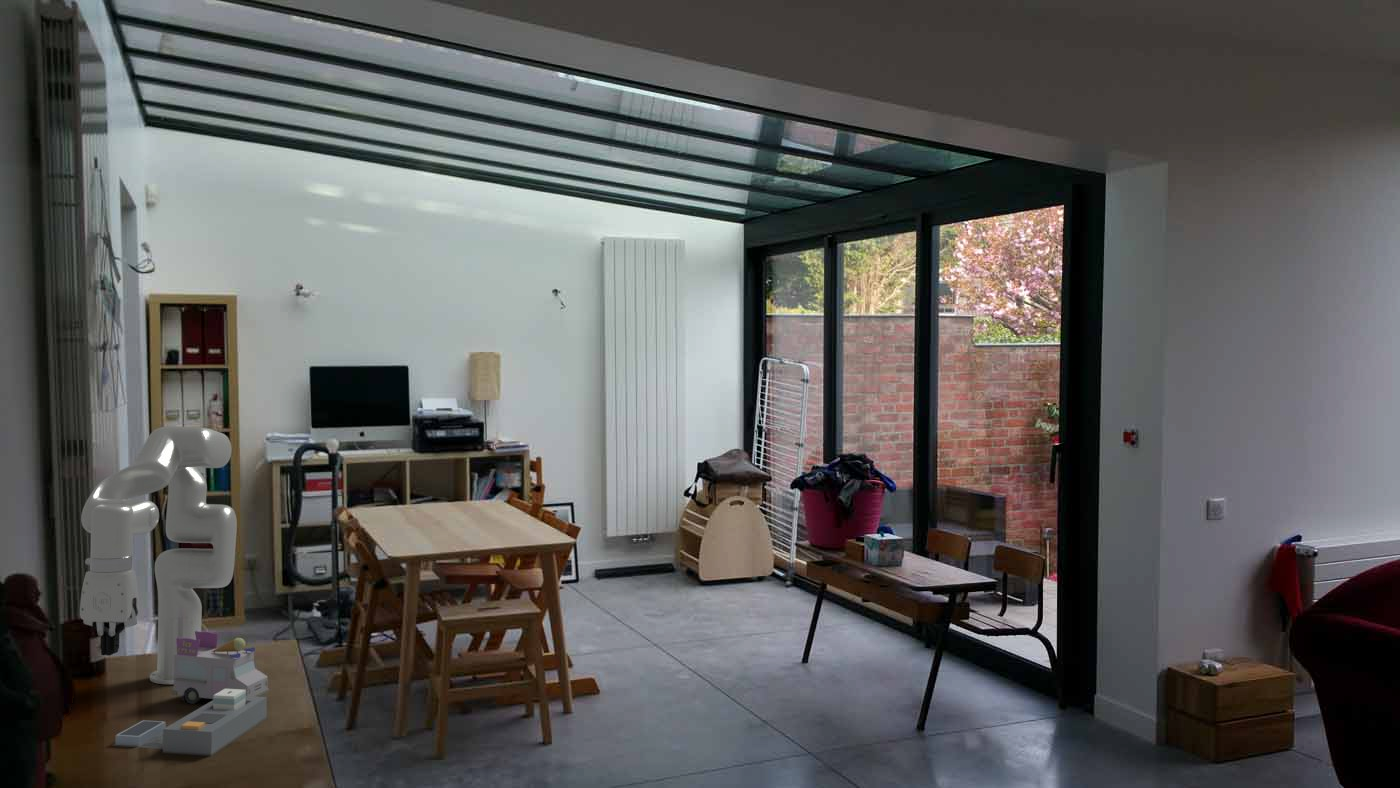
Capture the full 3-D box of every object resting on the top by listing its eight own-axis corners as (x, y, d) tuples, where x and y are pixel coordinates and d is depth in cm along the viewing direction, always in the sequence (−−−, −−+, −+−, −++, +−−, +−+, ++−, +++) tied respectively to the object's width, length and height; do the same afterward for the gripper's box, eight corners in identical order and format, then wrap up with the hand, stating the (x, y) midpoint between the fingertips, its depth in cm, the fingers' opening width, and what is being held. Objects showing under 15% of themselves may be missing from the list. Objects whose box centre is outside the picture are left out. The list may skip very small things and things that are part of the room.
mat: (141, 729, 217) (141, 728, 217) (196, 733, 216) (196, 731, 216) (111, 746, 207) (111, 745, 207) (168, 750, 206) (168, 748, 206)
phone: (142, 729, 217) (142, 720, 217) (165, 730, 216) (165, 721, 216) (115, 744, 208) (115, 735, 208) (139, 746, 207) (139, 736, 207)
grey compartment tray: (222, 717, 226) (222, 691, 226) (266, 719, 226) (266, 694, 226) (162, 754, 204) (163, 725, 204) (211, 757, 204) (211, 728, 204)
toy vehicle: (245, 712, 230) (247, 645, 230) (169, 703, 234) (170, 637, 234) (270, 699, 239) (272, 635, 239) (196, 691, 243) (197, 628, 243)
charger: (224, 720, 222) (225, 688, 222) (245, 721, 222) (245, 689, 222) (212, 728, 218) (213, 695, 218) (233, 729, 218) (234, 696, 217)
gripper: (64, 566, 209) (62, 657, 209) (135, 569, 208) (133, 660, 208) (88, 560, 216) (86, 647, 217) (157, 563, 215) (155, 650, 216)
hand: (109, 653), depth 212 cm, fingers closed
